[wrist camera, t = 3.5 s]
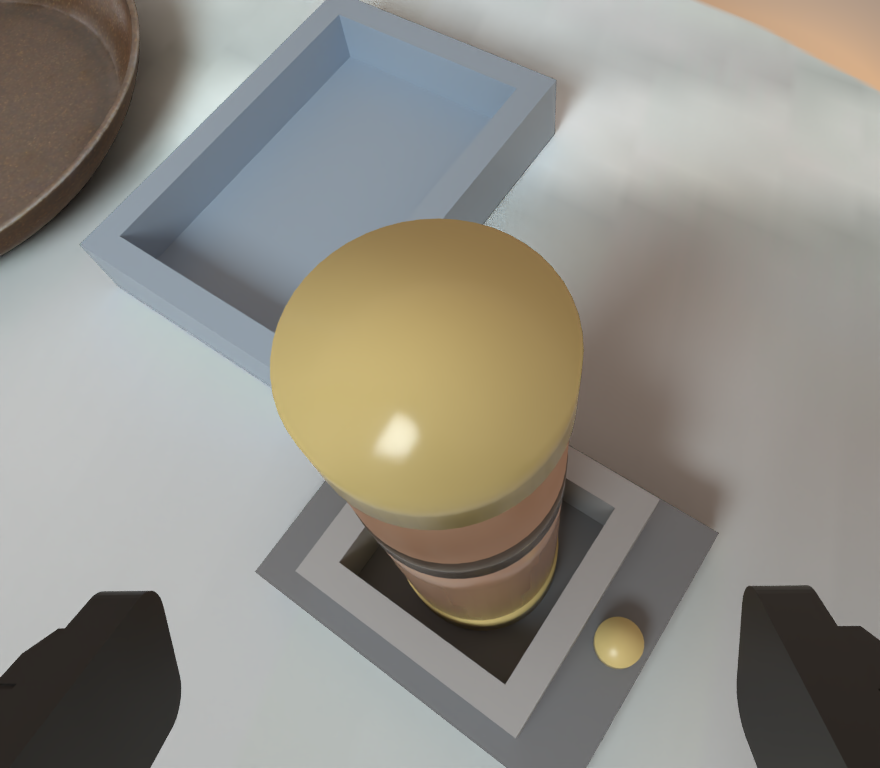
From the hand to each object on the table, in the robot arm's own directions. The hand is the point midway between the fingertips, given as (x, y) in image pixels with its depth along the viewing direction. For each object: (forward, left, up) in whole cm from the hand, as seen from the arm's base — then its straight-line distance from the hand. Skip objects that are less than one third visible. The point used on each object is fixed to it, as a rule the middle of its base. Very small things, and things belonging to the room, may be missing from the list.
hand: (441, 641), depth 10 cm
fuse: (-2, +3, -10) cm, 10 cm away
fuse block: (-2, +3, -11) cm, 12 cm away
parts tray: (-14, +11, -11) cm, 21 cm away
